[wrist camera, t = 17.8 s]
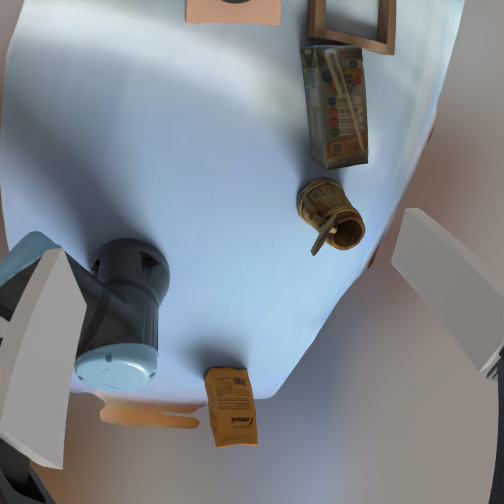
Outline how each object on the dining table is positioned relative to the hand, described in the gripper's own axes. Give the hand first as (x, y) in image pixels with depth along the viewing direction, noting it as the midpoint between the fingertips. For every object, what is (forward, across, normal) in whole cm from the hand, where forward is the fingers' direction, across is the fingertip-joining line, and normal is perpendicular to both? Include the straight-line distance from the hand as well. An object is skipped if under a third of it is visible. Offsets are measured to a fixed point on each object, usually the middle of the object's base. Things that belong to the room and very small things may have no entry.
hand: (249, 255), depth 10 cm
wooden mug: (+36, +18, -15) cm, 43 cm away
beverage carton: (+36, +20, +2) cm, 41 cm away
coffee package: (+37, +1, -66) cm, 76 cm away
